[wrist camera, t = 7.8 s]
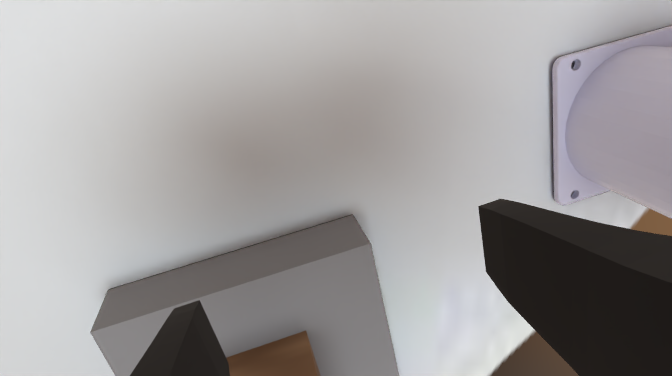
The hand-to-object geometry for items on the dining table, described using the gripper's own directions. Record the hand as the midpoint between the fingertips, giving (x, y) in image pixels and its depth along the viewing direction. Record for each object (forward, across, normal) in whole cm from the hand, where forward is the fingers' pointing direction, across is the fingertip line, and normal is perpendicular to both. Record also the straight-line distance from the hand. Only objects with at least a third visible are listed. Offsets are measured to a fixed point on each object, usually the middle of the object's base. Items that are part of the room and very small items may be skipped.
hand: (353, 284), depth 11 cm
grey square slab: (+10, +4, +10) cm, 15 cm away
